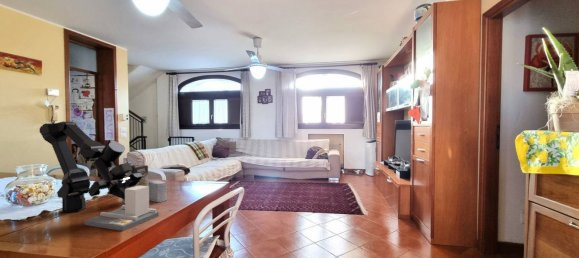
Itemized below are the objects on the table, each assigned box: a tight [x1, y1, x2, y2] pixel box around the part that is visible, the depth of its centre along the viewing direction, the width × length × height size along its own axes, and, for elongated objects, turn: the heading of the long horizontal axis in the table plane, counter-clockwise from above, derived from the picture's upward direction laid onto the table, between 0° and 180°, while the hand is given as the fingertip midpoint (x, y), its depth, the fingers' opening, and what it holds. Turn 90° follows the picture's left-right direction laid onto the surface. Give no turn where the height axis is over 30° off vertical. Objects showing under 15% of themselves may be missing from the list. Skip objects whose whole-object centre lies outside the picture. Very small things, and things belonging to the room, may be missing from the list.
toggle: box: [124, 185, 150, 217], centre depth 96 cm, size 6×6×10 cm
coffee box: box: [121, 164, 149, 204], centre depth 120 cm, size 9×6×16 cm
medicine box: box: [148, 180, 167, 203], centre depth 120 cm, size 8×4×9 cm, turn 58°
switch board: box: [84, 204, 160, 232], centre depth 95 cm, size 18×15×3 cm
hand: (129, 200), depth 97 cm, fingers closed, pressing on toggle
